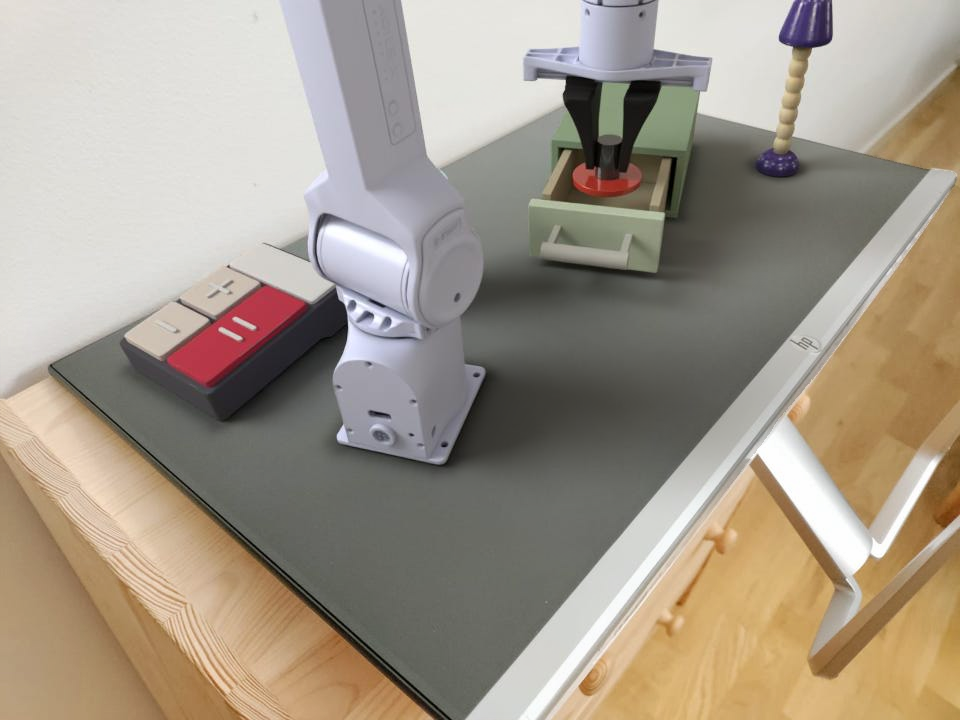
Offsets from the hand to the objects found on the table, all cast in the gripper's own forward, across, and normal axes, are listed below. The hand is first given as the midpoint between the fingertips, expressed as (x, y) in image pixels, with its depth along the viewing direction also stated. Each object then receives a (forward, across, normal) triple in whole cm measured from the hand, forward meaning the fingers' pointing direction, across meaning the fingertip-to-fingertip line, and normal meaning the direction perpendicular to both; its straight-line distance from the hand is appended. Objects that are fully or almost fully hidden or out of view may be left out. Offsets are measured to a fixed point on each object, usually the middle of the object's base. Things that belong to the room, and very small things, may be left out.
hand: (608, 166), depth 61 cm
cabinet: (+7, 0, -12) cm, 14 cm away
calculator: (+7, +25, +22) cm, 34 cm away
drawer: (+6, 0, +1) cm, 6 cm away
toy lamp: (+7, -15, -18) cm, 24 cm away
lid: (+1, 0, 0) cm, 1 cm away
